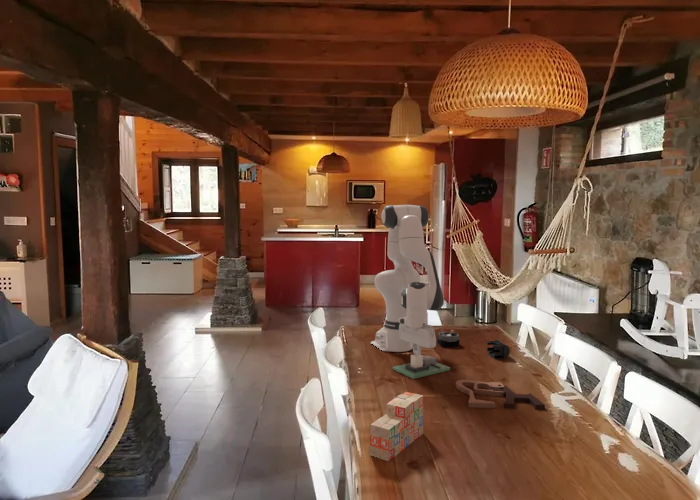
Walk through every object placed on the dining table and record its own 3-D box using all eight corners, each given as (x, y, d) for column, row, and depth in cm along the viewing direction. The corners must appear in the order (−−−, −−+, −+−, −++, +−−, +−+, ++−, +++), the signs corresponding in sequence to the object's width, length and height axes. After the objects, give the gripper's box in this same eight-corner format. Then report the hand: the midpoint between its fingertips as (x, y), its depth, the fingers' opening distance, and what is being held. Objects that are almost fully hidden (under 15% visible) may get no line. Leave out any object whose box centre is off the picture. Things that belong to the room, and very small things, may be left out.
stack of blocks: (389, 462, 141) (389, 418, 140) (369, 456, 144) (369, 413, 143) (423, 433, 158) (423, 394, 157) (405, 428, 162) (405, 390, 161)
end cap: (510, 359, 234) (510, 344, 234) (495, 359, 233) (495, 345, 233) (501, 352, 244) (501, 338, 243) (486, 353, 243) (486, 339, 243)
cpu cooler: (461, 336, 253) (441, 336, 253) (461, 347, 254) (441, 348, 253) (455, 331, 264) (435, 331, 263) (455, 342, 264) (435, 342, 263)
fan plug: (410, 369, 217) (410, 355, 216) (419, 367, 219) (419, 353, 219) (415, 370, 214) (415, 356, 214) (423, 368, 216) (423, 355, 216)
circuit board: (392, 369, 220) (392, 360, 219) (428, 361, 230) (428, 353, 230) (413, 378, 208) (413, 369, 207) (450, 370, 218) (450, 361, 218)
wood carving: (545, 411, 176) (528, 386, 199) (545, 405, 176) (528, 381, 199) (461, 408, 179) (454, 384, 202) (462, 402, 179) (454, 379, 202)
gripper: (439, 325, 207) (439, 358, 209) (407, 316, 225) (407, 347, 226) (427, 327, 204) (427, 361, 205) (396, 318, 221) (396, 349, 222)
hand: (417, 354), depth 216 cm, fingers closed
